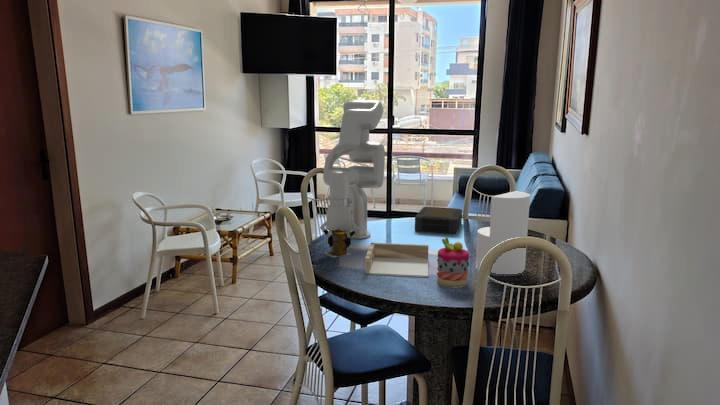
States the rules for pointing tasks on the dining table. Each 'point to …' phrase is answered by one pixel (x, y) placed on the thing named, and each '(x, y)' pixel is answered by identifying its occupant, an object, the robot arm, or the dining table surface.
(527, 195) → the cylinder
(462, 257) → the cake
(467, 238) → the dining table surface
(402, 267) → the mat
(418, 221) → the cash box
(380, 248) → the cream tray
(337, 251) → the condiment
